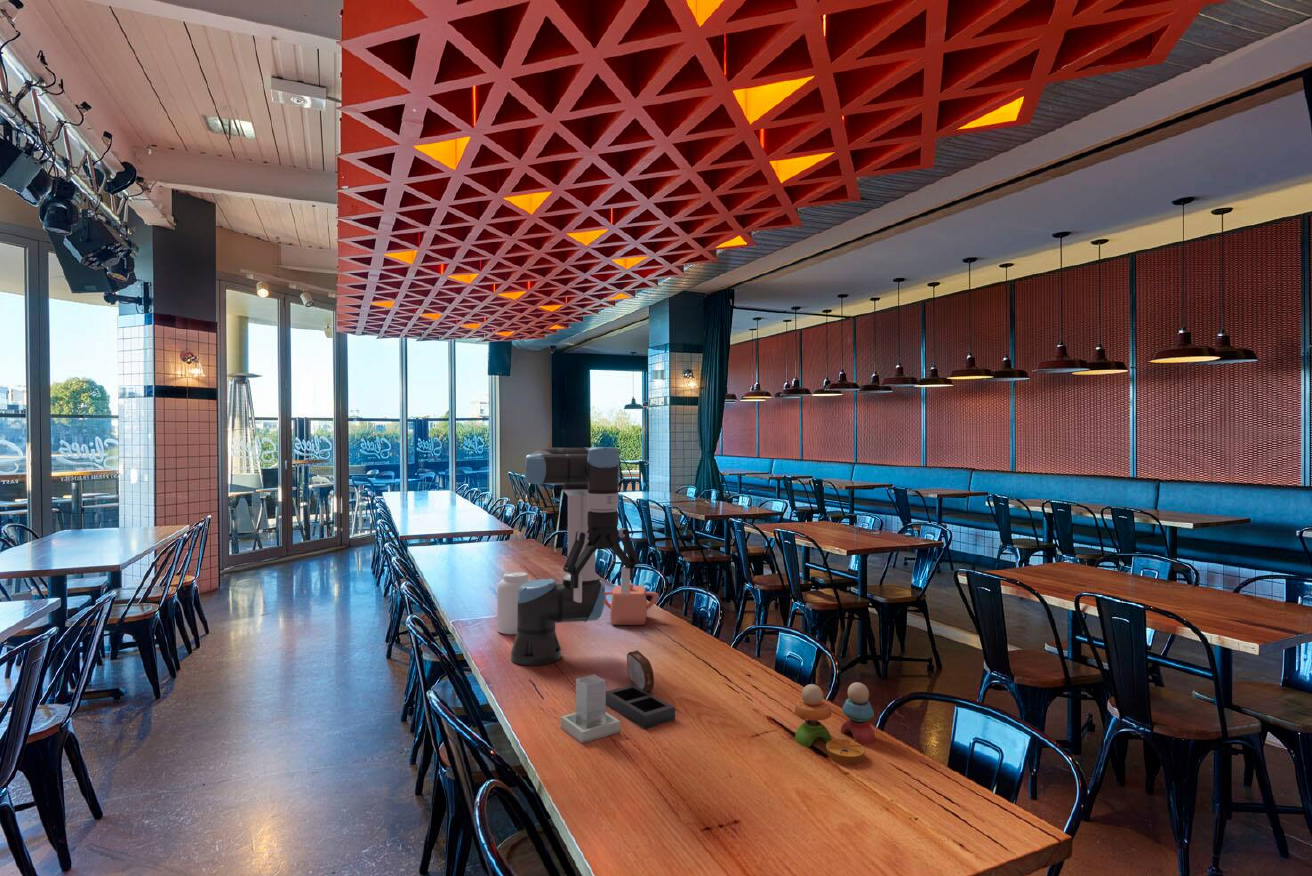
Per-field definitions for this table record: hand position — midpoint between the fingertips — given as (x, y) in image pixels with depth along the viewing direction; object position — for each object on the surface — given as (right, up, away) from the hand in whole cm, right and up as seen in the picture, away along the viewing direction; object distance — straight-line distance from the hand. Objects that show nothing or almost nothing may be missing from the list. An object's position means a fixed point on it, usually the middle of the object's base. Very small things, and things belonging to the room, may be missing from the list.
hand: (602, 597), depth 159 cm
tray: (-2, -29, -8) cm, 30 cm away
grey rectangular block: (-2, -28, -8) cm, 29 cm away
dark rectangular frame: (+9, -29, +3) cm, 30 cm away
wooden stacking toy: (+55, -30, -14) cm, 64 cm away
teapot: (+3, -29, +87) cm, 92 cm away
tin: (+9, -29, +20) cm, 36 cm away
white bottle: (-37, -29, +71) cm, 85 cm away
